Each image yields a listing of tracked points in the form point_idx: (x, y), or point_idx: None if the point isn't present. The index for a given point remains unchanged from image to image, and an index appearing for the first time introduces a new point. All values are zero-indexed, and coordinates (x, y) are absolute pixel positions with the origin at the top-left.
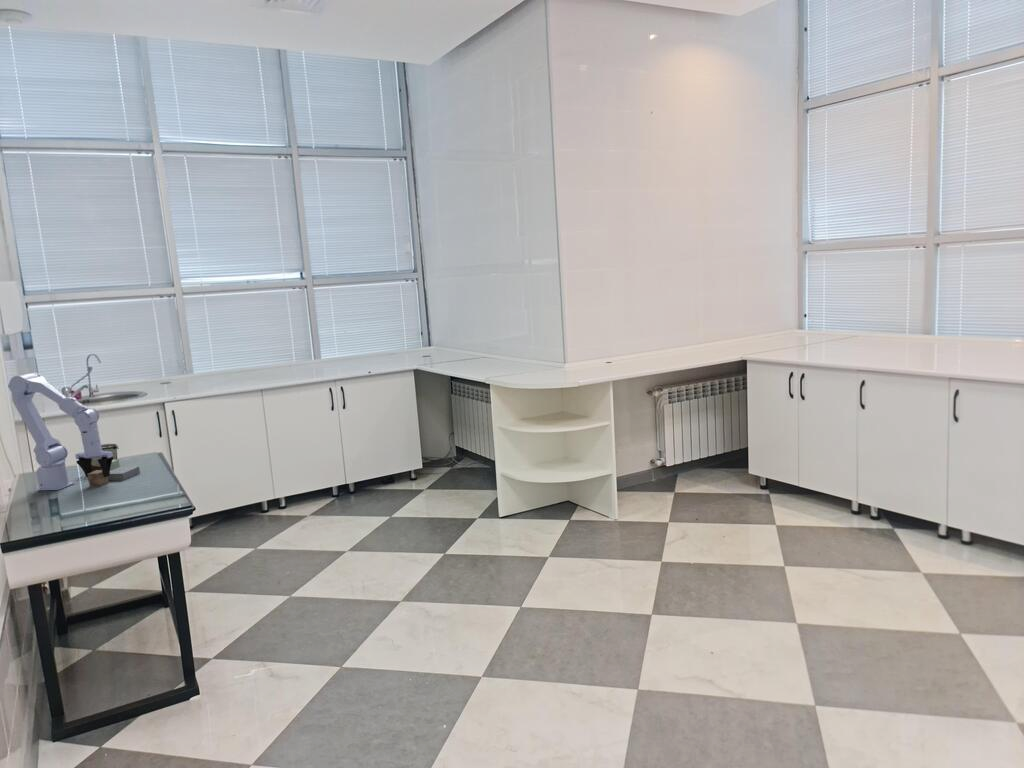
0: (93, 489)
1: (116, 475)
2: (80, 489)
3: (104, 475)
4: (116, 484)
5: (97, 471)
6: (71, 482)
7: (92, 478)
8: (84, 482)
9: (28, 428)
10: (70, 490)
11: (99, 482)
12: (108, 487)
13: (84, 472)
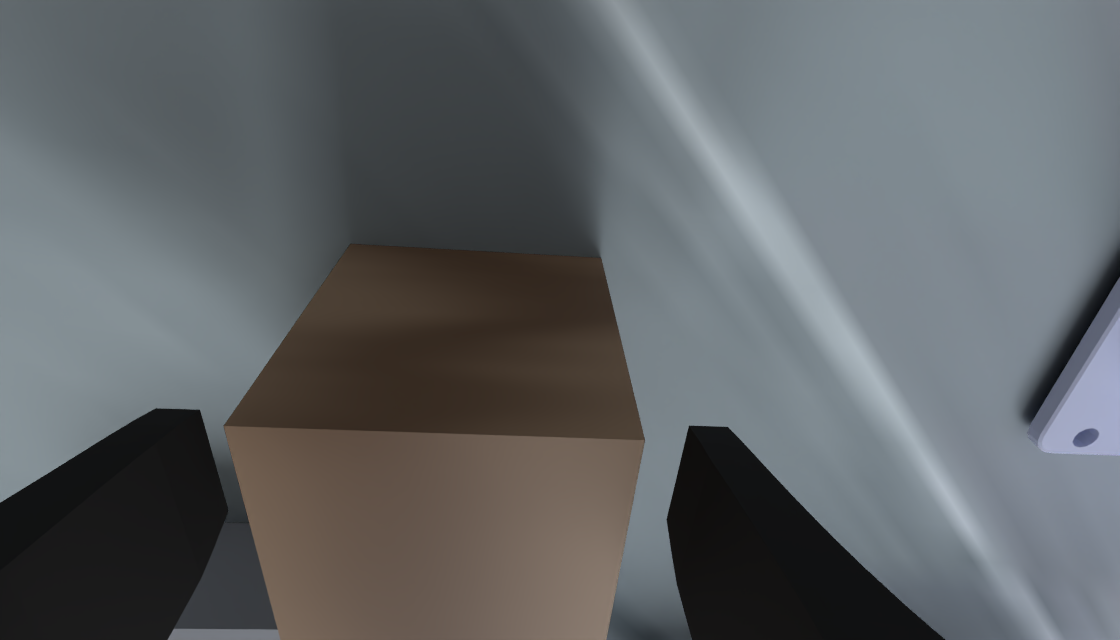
0: (296, 5)
1: None
2: (688, 59)
3: (138, 429)
4: (54, 316)
5: (464, 595)
6: (1097, 445)
7: (489, 343)
8: (872, 477)
9: None
10: (923, 8)
11: (328, 284)
12: (11, 127)
13: (804, 518)
